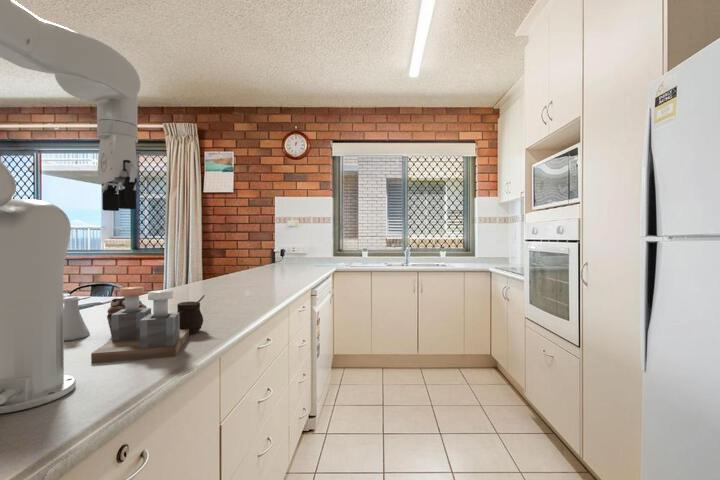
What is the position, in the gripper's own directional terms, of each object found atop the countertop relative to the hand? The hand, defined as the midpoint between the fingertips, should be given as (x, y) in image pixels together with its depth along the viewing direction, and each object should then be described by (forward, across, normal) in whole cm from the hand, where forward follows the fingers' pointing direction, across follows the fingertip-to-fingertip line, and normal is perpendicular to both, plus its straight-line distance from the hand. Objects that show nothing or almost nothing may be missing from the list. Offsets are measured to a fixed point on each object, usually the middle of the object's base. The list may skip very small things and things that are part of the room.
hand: (118, 209), depth 80 cm
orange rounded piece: (+24, -3, +3) cm, 25 cm away
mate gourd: (+32, -3, +17) cm, 37 cm away
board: (+32, +3, +4) cm, 32 cm away
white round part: (+24, +8, +5) cm, 26 cm away
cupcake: (+32, -14, +7) cm, 36 cm away
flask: (+32, -22, -4) cm, 39 cm away
